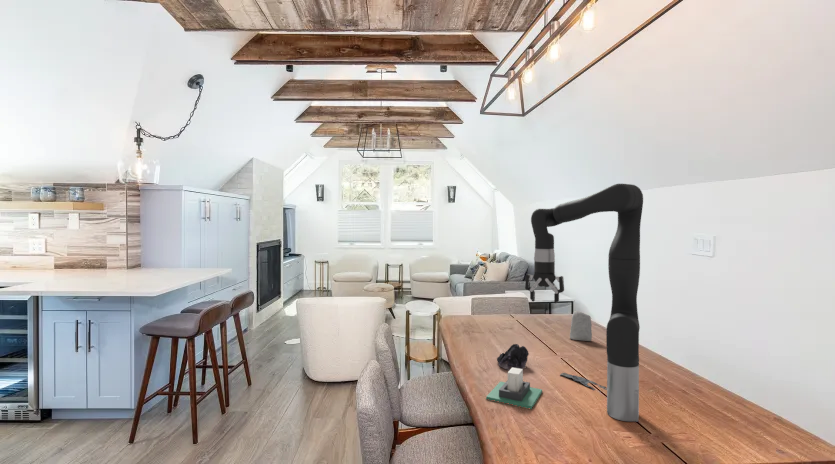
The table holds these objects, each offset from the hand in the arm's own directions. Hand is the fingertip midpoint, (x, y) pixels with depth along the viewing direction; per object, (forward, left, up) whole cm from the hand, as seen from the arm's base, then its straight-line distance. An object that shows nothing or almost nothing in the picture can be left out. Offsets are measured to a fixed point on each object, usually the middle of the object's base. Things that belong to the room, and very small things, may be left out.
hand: (544, 302), depth 159 cm
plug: (+7, +16, -31) cm, 35 cm away
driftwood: (-13, -9, -33) cm, 37 cm away
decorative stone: (-4, -71, -32) cm, 78 cm away
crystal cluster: (+17, -15, -32) cm, 40 cm away
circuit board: (+7, +16, -32) cm, 37 cm away
